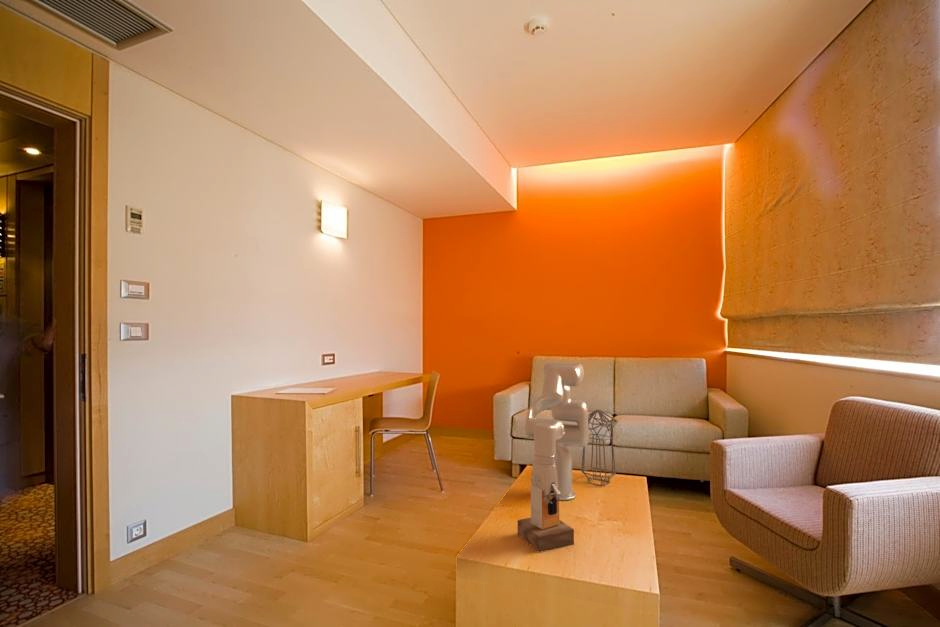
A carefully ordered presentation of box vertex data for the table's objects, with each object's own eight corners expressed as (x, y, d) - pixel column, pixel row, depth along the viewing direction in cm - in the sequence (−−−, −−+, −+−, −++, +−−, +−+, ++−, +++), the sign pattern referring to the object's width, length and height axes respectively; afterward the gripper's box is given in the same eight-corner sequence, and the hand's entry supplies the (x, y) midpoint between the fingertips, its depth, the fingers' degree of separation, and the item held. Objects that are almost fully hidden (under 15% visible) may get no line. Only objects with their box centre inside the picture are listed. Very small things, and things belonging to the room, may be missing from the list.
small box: (542, 530, 146) (541, 490, 147) (530, 523, 152) (529, 485, 152) (560, 524, 150) (559, 486, 151) (548, 518, 156) (547, 481, 157)
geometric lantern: (576, 482, 210) (575, 409, 213) (592, 475, 221) (591, 406, 224) (606, 490, 199) (605, 413, 202) (621, 482, 210) (620, 409, 213)
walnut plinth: (517, 534, 154) (517, 520, 155) (550, 527, 160) (550, 513, 160) (539, 552, 141) (539, 536, 142) (573, 544, 147) (573, 529, 147)
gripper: (522, 453, 159) (522, 502, 158) (550, 467, 143) (550, 521, 142) (540, 451, 162) (540, 499, 161) (568, 464, 146) (569, 517, 145)
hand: (545, 509), depth 151 cm, fingers open, 8 cm apart
